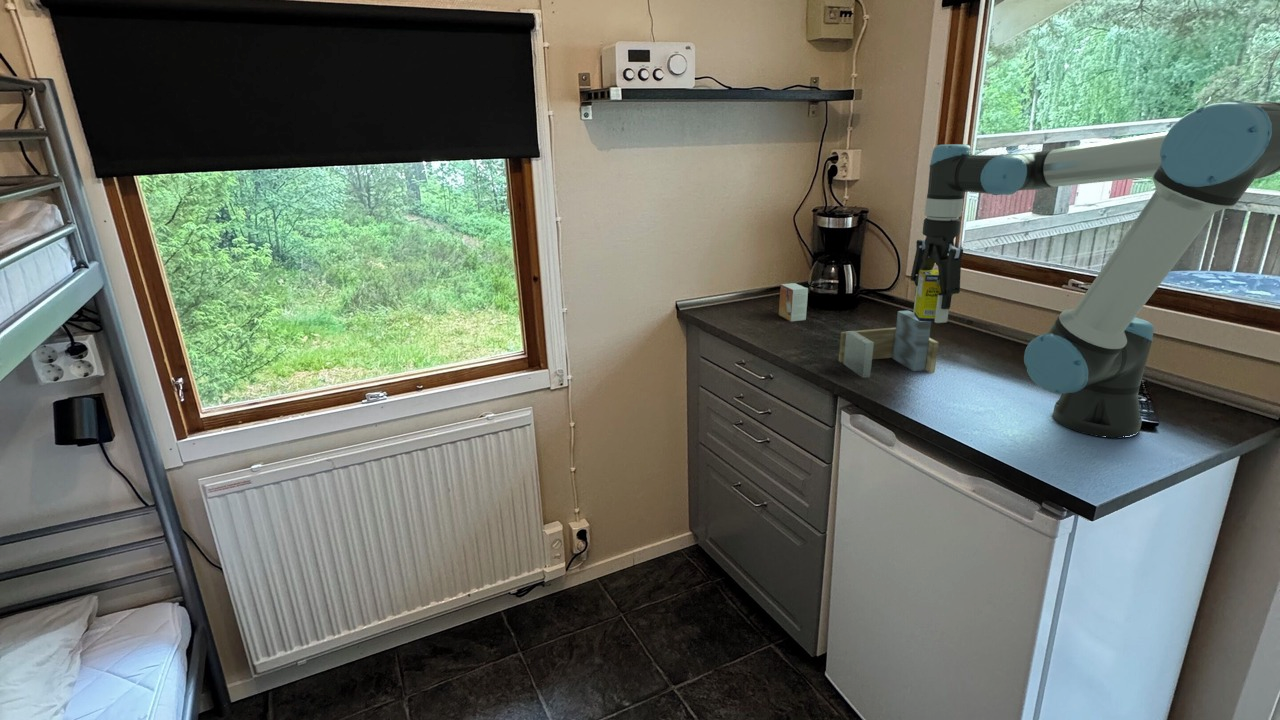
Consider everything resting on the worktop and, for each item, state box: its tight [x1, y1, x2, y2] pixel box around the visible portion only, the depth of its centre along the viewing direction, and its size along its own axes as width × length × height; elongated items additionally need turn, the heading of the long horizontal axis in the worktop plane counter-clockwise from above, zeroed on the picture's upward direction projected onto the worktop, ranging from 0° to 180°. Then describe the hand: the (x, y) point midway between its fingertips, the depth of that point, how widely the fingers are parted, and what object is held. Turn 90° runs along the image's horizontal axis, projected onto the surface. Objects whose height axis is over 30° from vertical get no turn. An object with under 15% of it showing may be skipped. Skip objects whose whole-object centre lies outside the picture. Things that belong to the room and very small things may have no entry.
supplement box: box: [914, 269, 947, 323], centre depth 152 cm, size 6×6×11 cm
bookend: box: [842, 330, 874, 379], centre depth 167 cm, size 10×2×9 cm, turn 11°
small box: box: [778, 282, 809, 323], centre depth 212 cm, size 8×6×10 cm
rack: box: [838, 310, 939, 374], centre depth 168 cm, size 14×19×13 cm
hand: (929, 317), depth 154 cm, fingers closed on supplement box, 8 cm apart
